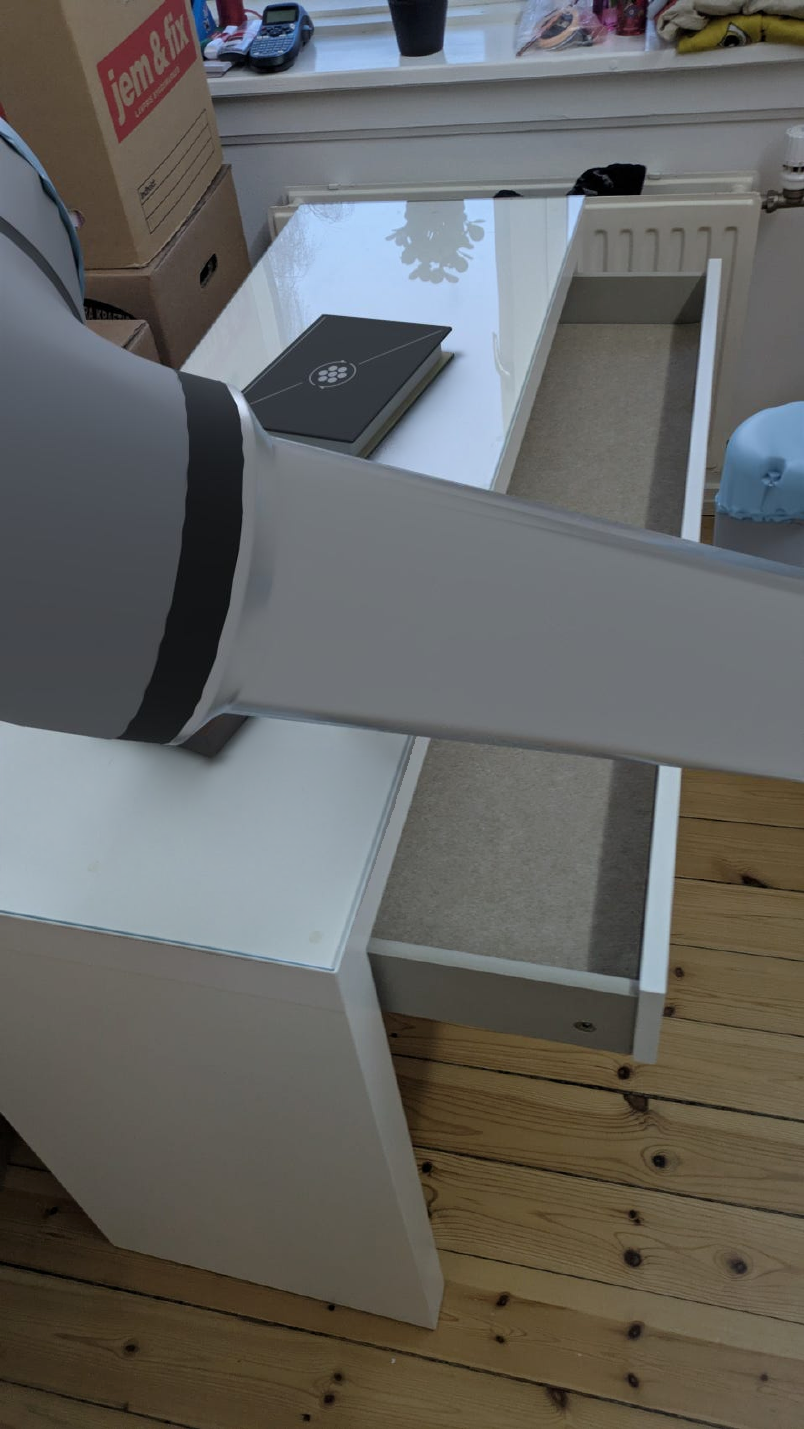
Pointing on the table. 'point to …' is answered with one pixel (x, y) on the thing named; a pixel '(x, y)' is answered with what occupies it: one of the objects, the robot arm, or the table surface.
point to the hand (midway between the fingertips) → (265, 558)
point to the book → (347, 381)
